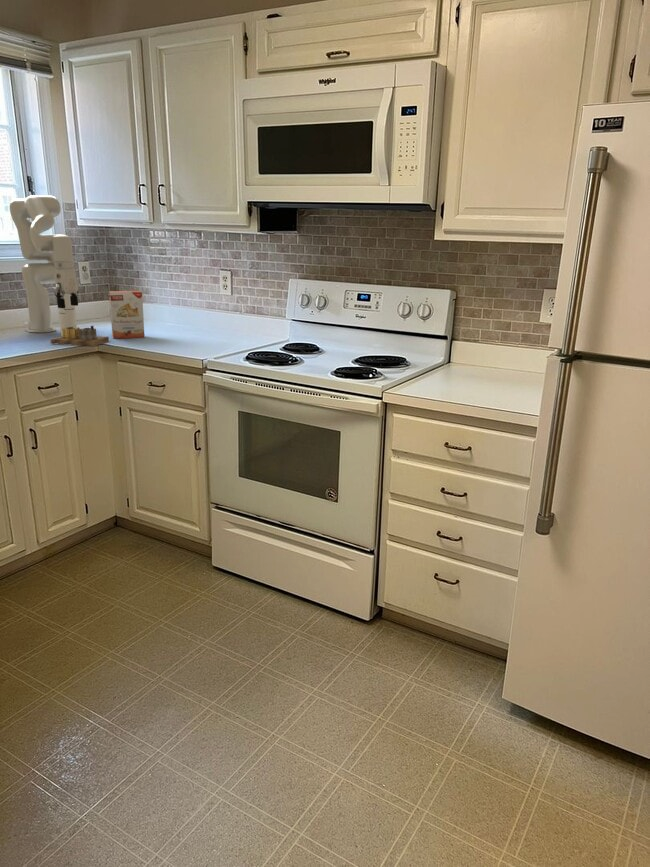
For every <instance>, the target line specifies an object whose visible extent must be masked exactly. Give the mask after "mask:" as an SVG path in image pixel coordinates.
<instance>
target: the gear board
mask: <svg viewBox="0 0 650 867" xmlns="http://www.w3.org/2000/svg"><path fill="white" fill-rule="evenodd" d="M68 329H73V327H68ZM108 342H110V338H109V336H100V335H99V336H97V328H95V327H94V325H90V327H84V328H79V338H75V339H71V338H70V339H66V338H63V336H61V335H60V336H58V337H53V338H50V344H51V343H58V344H57V345H64V344H71V345H70V346H84V347H85V346H86V347H95V346H98V345H101V344H105V343H108Z"/></svg>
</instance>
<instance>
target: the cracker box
mask: <svg viewBox="0 0 650 867" xmlns="http://www.w3.org/2000/svg"><path fill="white" fill-rule="evenodd" d="M108 296H109V308H110V321H111V322H110V323H111V333H112V334H111V335H112V338H113V339H114V340H115V339H137V338H140V339H141V338H146V337H145V322H144V307H143V305H144V303H143V302H144V301H143V292H142V290H113V291H112V290H110V291H109V294H108Z"/></svg>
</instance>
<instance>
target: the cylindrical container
mask: <svg viewBox="0 0 650 867" xmlns="http://www.w3.org/2000/svg"><path fill="white" fill-rule="evenodd" d="M70 296H71V295H70V294H66V293H65V295H64V298H63V299H65V308H58V307H57V310H58V319H59V327H60V337H61V336H63V335H62V329H63V328H68V327H77V328H78V324H77V317H76V316H77V314H76V306H73V305H71V301H70Z"/></svg>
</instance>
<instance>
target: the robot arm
mask: <svg viewBox="0 0 650 867" xmlns="http://www.w3.org/2000/svg"><path fill="white" fill-rule="evenodd" d="M9 213H10V217H11V219H12V221H13V223H14V226H15V228H16V229H17V235H18V240H19V247H20V251H21V255H22V257H23V259H25V260H26V261H27V260H28V261H46V262H31V263H26V264H24V265H23V266H22V267H21V275H22V280H23V283H24V287H25V292H26V299H27V309H28V318H29V321H25V322H24V323H23V326H24V327H28V328H27V329H26V330H27V332H28V333H35V334H36V333H37V334H39V333H42V334H43V333H51V332H55V331H57V330H56V329H57V328H56V327H54V326H53V323H52V315H51V306H50V296H49V292H48V290H47V289H46V288H45V287H44V286H43V285H50V284H55V286H54V287H53V288H52V290H53V293H54V296H55V299H56V301H57V302H56V303H57V304H56V305H57V309H58V308H65V299H63V298H64V295H65V293H66V294H70V295H71V296H70V301H71V305H73V306H75V307H76V306H79V298H78V296H79V294H78V293H79V288H80V285H79V284H78V278H77V272H76V270H75V268H74V267H75V265H74V255H73V246H72V245H73V244H72V239H71V237H70V236H69V235H65V234H62V233H61V234H59V233H54V234H53V233H52V234H51V233H44V232H46V231H49V230H51V229H52V227H54V224H55V219H54V218H55V217H58V216H59V215H60V213H61V204H60V201H59V200H58V199H57V197H56V196H53V195H42V194H41V195H38V194H35V195H34V194H33V195H29V196H27V197H25V198H15V199H12V200H11V201H10V203H9ZM30 219H31V220H30Z"/></svg>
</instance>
